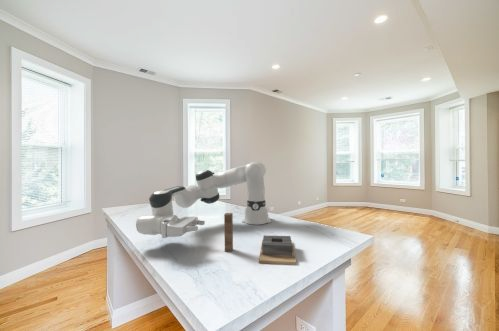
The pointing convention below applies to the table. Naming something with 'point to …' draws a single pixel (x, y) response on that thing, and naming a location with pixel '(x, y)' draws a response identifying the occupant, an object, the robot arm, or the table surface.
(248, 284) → the table surface
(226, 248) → the walnut slat
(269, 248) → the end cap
